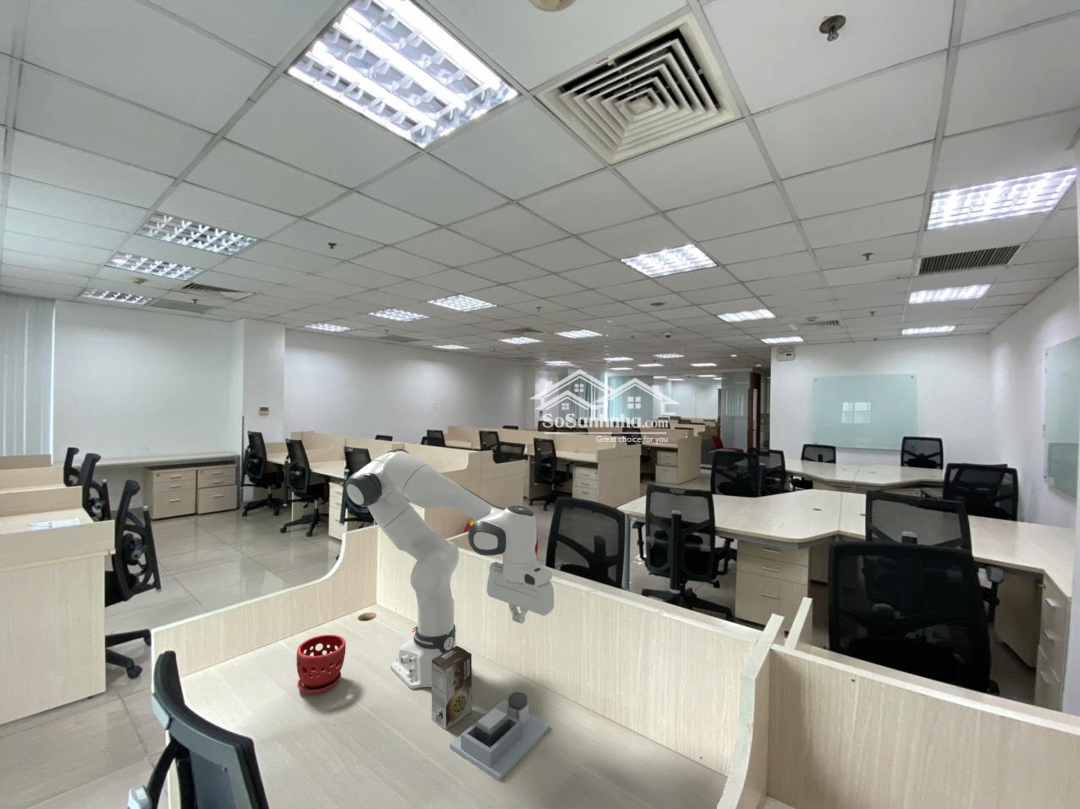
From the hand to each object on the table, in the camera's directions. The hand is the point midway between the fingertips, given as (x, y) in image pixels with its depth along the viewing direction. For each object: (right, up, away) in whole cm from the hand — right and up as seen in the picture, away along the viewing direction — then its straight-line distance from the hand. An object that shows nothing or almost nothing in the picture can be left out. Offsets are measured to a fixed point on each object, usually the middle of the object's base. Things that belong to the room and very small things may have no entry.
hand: (518, 621), depth 116 cm
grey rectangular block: (-6, -26, -8) cm, 28 cm away
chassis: (-4, -27, -5) cm, 28 cm away
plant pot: (-60, -27, +15) cm, 67 cm away
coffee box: (-18, -27, +3) cm, 33 cm away
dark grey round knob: (0, -25, 0) cm, 25 cm away
